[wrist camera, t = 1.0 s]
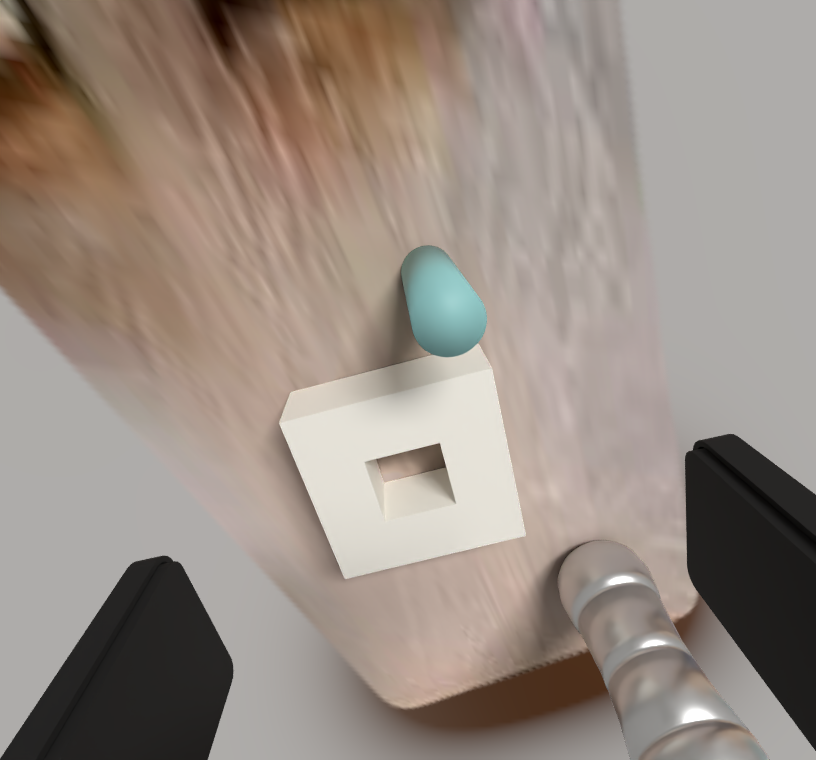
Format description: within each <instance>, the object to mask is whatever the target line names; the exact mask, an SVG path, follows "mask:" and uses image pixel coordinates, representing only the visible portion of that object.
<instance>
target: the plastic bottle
mask: <svg viewBox="0 0 816 760" xmlns="http://www.w3.org/2000/svg"><path fill="white" fill-rule="evenodd" d="M558 588H559V593H560V598H561V603H562V606H563V607H564V609H565V611H566V613H567V614H568V616H569V618H570V620H571V621H572V623H573V625H574V626H575V628H576V629H577V630H578V632H579V633H580V634H581V635H582V637H583V639H584V641H585V643H586V645H587V647H588V649H589V651H590V653H591V654H592V656H593V658H594V660H595V662H596V664H597V666H598V668H599V670H600V672H601V673H602V676H603V679H604V682H605V685H606V687H607V689H608V691H609V694H610V698H611V701H612V703H613V706H614V709H615V711H616V714H617V717H618V719H619V722H620V725H621V729H622V732H623V736H624V739H625V743H626V747H627V750H628V754H629V757H630V760H770V759H769V757H768V755H767V753H766V752H765V751H764V749H763V748H762V746H761V745H760V744H759V742H758V741H757V739H756V738H755V737H754V736H753V735H752V733H751V732H750V731H749V729H748V728H747V727H746V726H745V724H744V723H743V722H742V721H741V720H740V718H739V717H738V716H737V715H736V713H735V712H734V711H733V710H732V708H731V707H730V706H729V705H728V704H727V702H726V701H725V700H724V699H723V698H722V696H721V695H720V694H719V692H718V691H717V690H716V689H715V688H714V686H713V685H712V684H711V682H710V681H709V679H708V678H707V676H706V675H705V673H704V672H703V670H702V669H701V668H700V666H699V665H698V663H697V662H696V661H695V660H694V658H693V657H692V655H691V653H690V652H689V650H688V649H687V647H686V646H685V644H684V643H683V641H682V640H681V638H680V636H679V634H678V632H677V631H676V628H675V626H674V625H673V623H672V621H671V619H670V617H669V615H668V613H667V611H666V609H665V607H664V605H663V603H662V601H661V599H660V595H659V592H658V589H657V587H656V584H655V582H654V580H653V578H652V576H651V574H650V571H649V569H648V567H647V566H646V565H645V563H644V562H643V561H642V560H641V559H640V558H639V557H638V556H637V555H636V554H635V553H634V552H633V551H632V550H631V549H630V548H628V547H627V546H625V545H622V544H619V543H616V542H613V541H608V540H598V541H592V542H589V543H586V544H584V545H582V546H579V547H578V548H576V549H575V550H573V551H572V552H571V553H570V554H569V555H568V556H567V557H566V559H565V560H564V562H563V564H562V566H561V569H560V572H559V575H558Z"/></svg>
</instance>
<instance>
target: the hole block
mask: <svg viewBox="0 0 816 760" xmlns="http://www.w3.org/2000/svg"><path fill="white" fill-rule="evenodd" d="M279 424H280V427H281V429H282V431H283V434H284V436H285V438H286V441H287V443H288V446H289V448H290V450H291V453H292V455H293V457H294V460H295V462H296V465H297V467H298V469H299V472H300V474H301V476H302V479H303V481H304V484H305V486H306V488H307V491H308V493H309V495H310V498H311V500H312V503H313V505H314V507H315V510H316V512H317V514H318V517H319V519H320V522H321V524H322V526H323V529H324V531H325V533H326V536H327V538H328V541H329V543H330V545H331V548H332V550H333V552H334V555H335V557H336V560H337V562H338V564H339V567H340V569H341V571H342V574H343V576H344V579H348V578H352V577H356V576H360V575H365V574H369V573H373V572H377V571H381V570H385V569H390V568H394V567H398V566H402V565H406V564H410V563H415V562H419V561H423V560H427V559H431V558H435V557H440V556H444V555H448V554H452V553H456V552H460V551H465V550H469V549H473V548H477V547H481V546H485V545H490V544H494V543H498V542H502V541H506V540H510V539H515V538H519V537H523V536H526V533H525V528H524V523H523V518H522V514H521V509H520V504H519V499H518V494H517V489H516V484H515V479H514V474H513V469H512V464H511V459H510V454H509V449H508V445H507V440H506V435H505V430H504V425H503V420H502V415H501V410H500V405H499V400H498V395H497V390H496V385H495V381H494V376H493V371H492V367H491V365H490V364H489V362H488V360H487V358H486V356H485V355H484V353H483V351H482V349H481V347H480V345H479V344H478V343H477V344H476V345H475V347H473V348H472V349H471V350H469V351H468V352H466V353H464V354H462V355H459V356H455V357H440V356H436V355H430V356H426V357H422V358H419V359H415V360H411V361H407V362H403V363H399V364H396V365H392V366H388V367H384V368H380V369H377V370H373V371H369V372H365V373H361V374H357V375H354V376H350V377H346V378H342V379H338V380H334V381H331V382H327V383H323V384H319V385H315V386H312V387H308V388H304V389H300V390H296V391H292V392H290V395H289V398H288V400H287V403H286V406H285V408H284V411H283V414H282V417H281V419H280V422H279ZM437 443H440V445H441V449H442V453H443V456H444V460H445V464H446V467H445V468H441V469H437V470H433V471H429V472H425V473H421V474H417V475H413V476H409V477H405V478H401V479H397V480H393V481H389V482H385V483H384V481H383V478H382V475H381V472H380V469H379V466H378V463H377V460H376V459H378V458H382V457H386V456H390V455H394V454H398V453H402V452H406V451H410V450H414V449H418V448H422V447H426V446H430V445H434V444H437Z"/></svg>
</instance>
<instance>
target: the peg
mask: <svg viewBox="0 0 816 760" xmlns="http://www.w3.org/2000/svg"><path fill="white" fill-rule="evenodd" d="M401 277H402V282H403V287H404V292H405V296H406V301H407V306H408V311H409V316H410V320H411V325H412V330H413V334H414V336H415V338H416V340H417V342H418V343H419V345H420V346H421V347H422V348H423V349H425V350H426V351H427V352H429V353H431V354H433V355H436V356H440V357H455V356H459V355H462V354H464V353H466V352H468V351H469V350H471V349H472V348H473V347H475V345H476V344H477V343H478V342H479V341H480V339H481V338H482V336H483V334H484V332H485V328H486V323H487V315H486V310H485V307H484V305H483V303H482V301H481V299H480V298H479V297H478V295H477V294H476V293H475V291H474V290H473V289H472V287H471V286H470V284H469V283H468V282H467V280H466V279H465V278H464V276H463V275H462V274H461V272H460V271H459V270H458V268H457V267H456V265H455V264H454V263H453V261H452V260H451V259H450V257H449V256H448V255H447V254H446V253H445V252H444V251H443V250H442V249H440V248H438V247H435V246H421V247H418V248H416V249H414V250H412V251H411V252H410V253H409V254H408V255H407V256H406V258H405V259H404V261H403V264H402V268H401Z"/></svg>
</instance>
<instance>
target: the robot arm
mask: <svg viewBox="0 0 816 760" xmlns="http://www.w3.org/2000/svg"><path fill="white" fill-rule="evenodd" d="M685 478H686V530H687V568H688V573H689V576H690V579H691V581H692V583H693V585H694V587H695V588H696V590H697V591H698V593H699V594H700V595H701V596H702V598H703V599H704V600H705V602H706V603H707V605H708V606H709V607H710V609H711V610H712V612H713V613H714V614H715V616H716V617H717V618H718V620H719V621H720V622H721V623H722V625H723V626H724V628H725V629H726V630H727V632H728V633H729V634H730V636H731V637H732V638H733V640H734V641H735V643H736V644H737V645H738V647H739V648H740V649H741V651H742V652H743V653H744V655H745V656H746V657H747V659H748V660H749V661H750V662H751V664H752V666H753V667H754V668H755V670H756V671H757V672H758V674H759V675H760V676H761V678H762V679H763V680H764V682H765V683H766V684H767V686H768V687H769V688H770V690H771V691H772V693H773V694H774V695H775V697H776V698H777V699H778V701H779V702H780V703H781V705H782V706H783V707H784V709H785V710H786V712H787V713H788V714H789V716H790V717H791V718H792V719H793V721H794V722H795V724H796V725H797V726H798V728H799V729H800V730H801V732H802V733H803V734H804V736H805V737H806V738H807V740H808V741H809V743H810V744H811V745H812V747H813V748H814V749H815V751H816V495H815V494H814V493H813V492H811V491H810V490H808V489H807V488H806V487H805V486H803V485H802V484H801V483H799V482H798V481H797V480H795V479H794V478H792V477H791V476H790V475H789V474H787V473H786V472H785V471H783V470H782V469H781V468H779V467H778V466H777V465H775V464H774V463H773V462H771V461H770V460H769V459H767V458H766V457H764V456H763V455H762V454H760V453H759V452H758V451H756V450H755V449H754V448H752V447H751V446H750V445H748V444H747V443H746V442H745V441H743V440H742V439H741V438H739V437H738V436H736V435H734V434H727V435H723V436H718V437H713V438H709V439H704V440H699V441H697V442H695V444H694V447H693V451H689V452H687V453H686V456H685ZM232 679H233V663H232V659H231V657H230V655H229V654H228V651H227V650H226V648H225V646H224V644H223V642H222V640H221V638H220V636H219V634H218V632H217V631H216V629H215V627H214V625H213V623H212V621H211V619H210V617H209V615H208V614H207V612H206V610H205V608H204V606H203V604H202V602H201V600H200V598H199V597H198V595H197V593H196V591H195V589H194V587H193V585H192V583H191V581H190V580H189V578H188V576H187V574H186V572H185V570H184V568H183V567H182V565H181V564H180V563H179V562H175V561H174V562H173V560H172V559H171V558H170V557H168V556H160V557H155V558H150V559H146V560H141V561H136V562H134V563H132V564H131V565H130V566H129V567H128V568H127V570H126V571H125V573H124V574H123V576H122V577H121V579H120V580H119V582H118V583H117V585H116V586H115V588H114V589H113V591H112V592H111V594H110V595H109V597H108V598H107V600H106V601H105V603H104V604H103V606H102V607H101V609H100V610H99V612H98V613H97V615H96V616H95V618H94V619H93V621H92V622H91V624H90V625H89V627H88V628H87V630H86V631H85V633H84V635H83V636H82V637H81V639H80V640H79V642H78V643H77V645H76V646H75V648H74V649H73V651H72V652H71V654H70V655H69V657H68V658H67V660H66V661H65V662H64V664H63V665H62V667H61V669H60V670H59V672H58V673H57V675H56V676H55V677H54V679H53V680H52V682H51V683H50V685H49V686H48V688H47V689H46V691H45V692H44V694H43V696H42V697H41V698H40V700H39V701H38V703H37V704H36V706H35V708H34V709H33V711H32V712H31V713H30V715H29V716H28V718H27V719H26V721H25V722H24V724H23V725H22V727H21V728H20V730H19V731H18V733H17V734H16V736H15V737H14V739H13V740H12V742H11V743H10V745H9V746H8V748H7V749H6V751H5V752H4V754H3V756H2V757H1V758H0V760H208V757H209V753H210V750H211V747H212V744H213V741H214V737H215V734H216V731H217V728H218V724H219V721H220V718H221V715H222V712H223V709H224V705H225V702H226V699H227V696H228V693H229V689H230V686H231V683H232Z"/></svg>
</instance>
